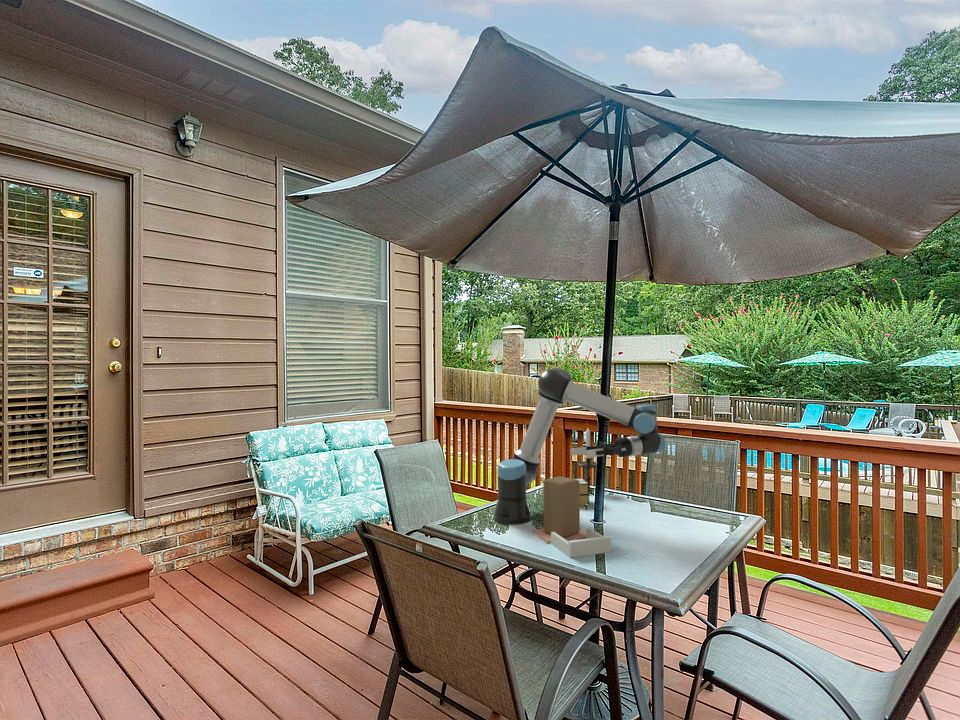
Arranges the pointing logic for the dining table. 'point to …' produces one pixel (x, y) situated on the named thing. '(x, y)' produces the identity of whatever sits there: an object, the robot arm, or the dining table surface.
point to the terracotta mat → (580, 535)
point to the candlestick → (588, 463)
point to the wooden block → (561, 506)
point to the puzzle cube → (583, 492)
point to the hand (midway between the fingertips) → (579, 453)
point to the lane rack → (583, 544)
